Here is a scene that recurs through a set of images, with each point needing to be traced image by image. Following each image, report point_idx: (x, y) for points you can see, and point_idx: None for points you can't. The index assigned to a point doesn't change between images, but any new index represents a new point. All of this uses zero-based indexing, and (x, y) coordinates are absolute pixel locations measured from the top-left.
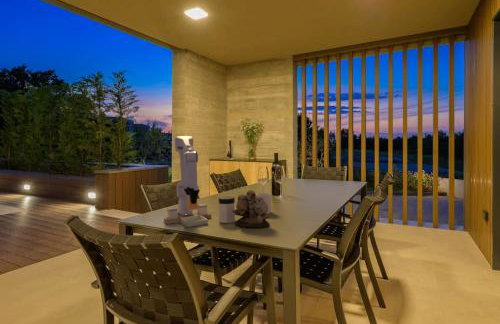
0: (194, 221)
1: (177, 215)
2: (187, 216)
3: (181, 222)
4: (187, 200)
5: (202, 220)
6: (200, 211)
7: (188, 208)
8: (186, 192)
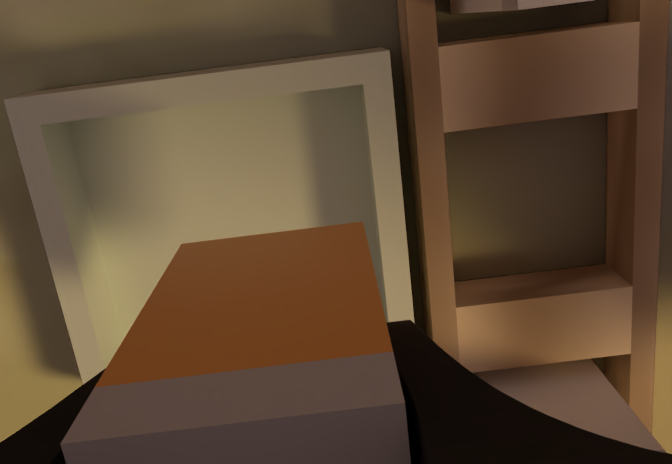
0: (40, 226)
1: (477, 9)
2: (621, 213)
3: (325, 55)
4: (322, 308)
5: (76, 347)
6: None
7: (266, 238)
8: (432, 461)
